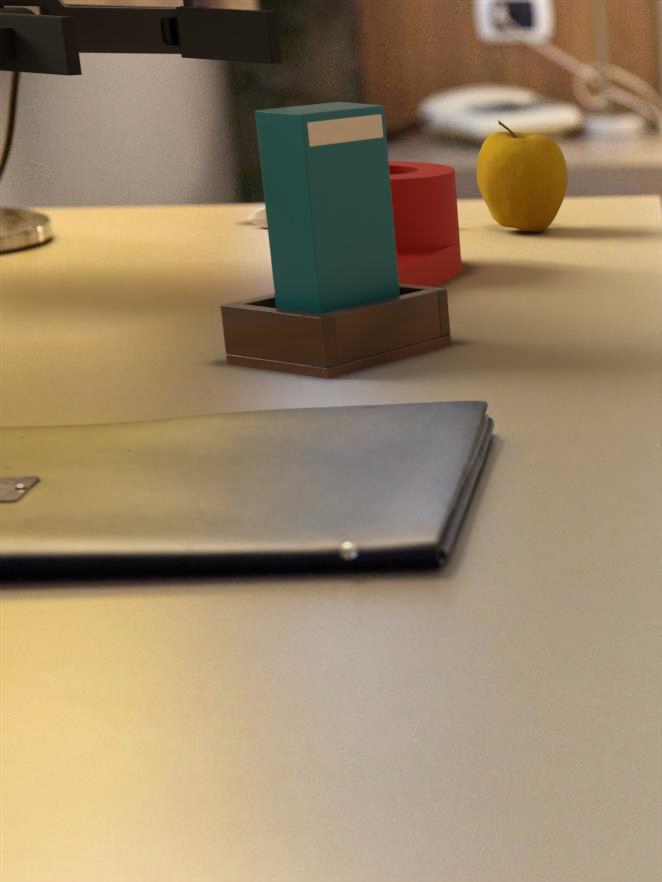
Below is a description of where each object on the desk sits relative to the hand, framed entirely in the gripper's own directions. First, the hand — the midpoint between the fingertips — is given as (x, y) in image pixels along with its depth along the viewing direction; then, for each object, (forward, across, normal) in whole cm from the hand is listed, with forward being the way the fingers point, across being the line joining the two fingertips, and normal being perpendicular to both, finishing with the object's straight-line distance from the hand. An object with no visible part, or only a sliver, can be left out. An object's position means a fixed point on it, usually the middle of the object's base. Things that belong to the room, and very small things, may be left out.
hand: (179, 41), depth 100 cm
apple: (-9, +40, +15) cm, 44 cm away
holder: (+9, 0, +16) cm, 18 cm away
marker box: (+9, 0, +15) cm, 17 cm away
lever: (-3, +17, +16) cm, 23 cm away
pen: (-21, +35, +15) cm, 43 cm away
